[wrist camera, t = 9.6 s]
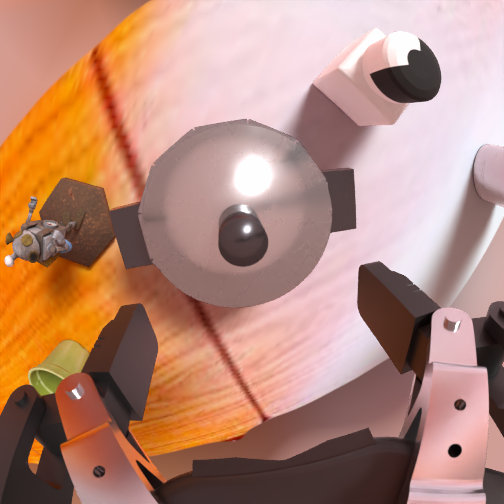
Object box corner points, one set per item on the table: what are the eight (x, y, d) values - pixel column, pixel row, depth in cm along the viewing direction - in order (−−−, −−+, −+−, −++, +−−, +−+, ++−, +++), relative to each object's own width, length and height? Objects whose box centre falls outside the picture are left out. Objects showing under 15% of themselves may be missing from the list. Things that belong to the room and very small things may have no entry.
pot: (313, 119, 26) (351, 111, 18) (325, 244, 32) (359, 280, 23) (129, 150, 25) (92, 155, 17) (159, 274, 31) (141, 319, 23)
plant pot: (42, 327, 32) (17, 363, 24) (91, 332, 33) (69, 374, 25) (63, 371, 36) (45, 408, 28) (109, 377, 36) (96, 419, 28)
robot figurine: (127, 195, 27) (76, 228, 16) (113, 270, 30) (72, 331, 19) (48, 172, 25) (-20, 194, 14) (40, 244, 28) (-15, 289, 17)
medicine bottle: (389, 87, 25) (460, 75, 14) (358, 127, 27) (428, 126, 16) (346, 45, 23) (405, 9, 12) (310, 83, 25) (364, 53, 14)
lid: (317, 116, 18) (347, 110, 13) (330, 284, 23) (353, 316, 19) (129, 147, 17) (101, 150, 13) (171, 312, 23) (162, 351, 18)
